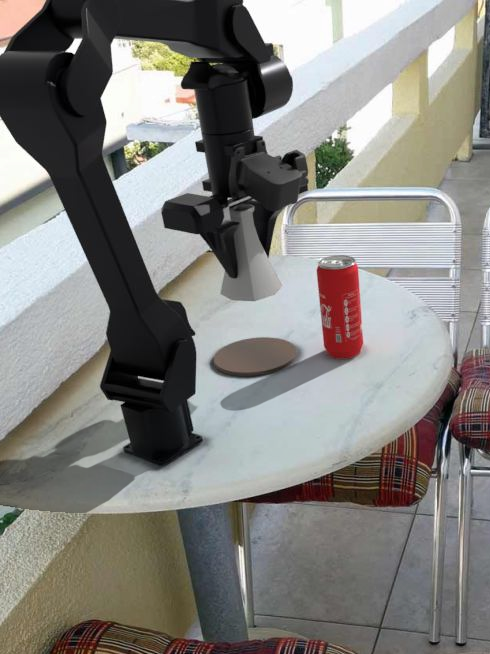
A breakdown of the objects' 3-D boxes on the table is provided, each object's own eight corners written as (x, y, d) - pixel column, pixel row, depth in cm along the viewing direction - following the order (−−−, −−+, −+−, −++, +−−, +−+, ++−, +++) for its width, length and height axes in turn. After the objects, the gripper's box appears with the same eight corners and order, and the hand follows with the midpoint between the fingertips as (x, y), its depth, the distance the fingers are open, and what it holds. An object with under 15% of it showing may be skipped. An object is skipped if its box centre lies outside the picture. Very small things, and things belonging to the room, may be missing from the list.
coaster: (259, 383, 107) (258, 379, 107) (196, 365, 113) (196, 361, 112) (313, 350, 114) (313, 346, 114) (252, 334, 120) (251, 331, 119)
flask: (293, 286, 105) (283, 202, 99) (255, 307, 101) (243, 220, 94) (248, 277, 109) (236, 195, 102) (210, 297, 104) (194, 212, 98)
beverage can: (359, 361, 111) (352, 269, 103) (320, 359, 112) (311, 268, 104) (367, 344, 115) (361, 254, 107) (329, 343, 116) (321, 254, 108)
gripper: (220, 156, 84) (245, 310, 93) (337, 116, 95) (348, 256, 105) (144, 146, 89) (174, 292, 99) (263, 109, 101) (280, 243, 110)
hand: (248, 270), depth 103 cm, fingers closed on flask, 5 cm apart
